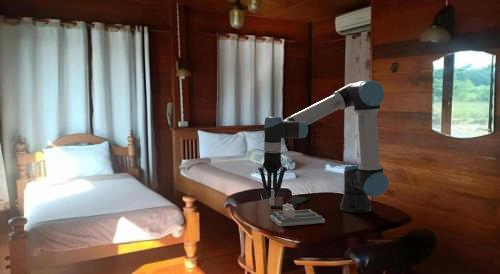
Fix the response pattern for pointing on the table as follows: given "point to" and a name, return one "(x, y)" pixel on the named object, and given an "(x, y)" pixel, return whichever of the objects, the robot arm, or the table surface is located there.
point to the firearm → (292, 202)
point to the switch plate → (297, 218)
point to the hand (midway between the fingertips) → (271, 204)
